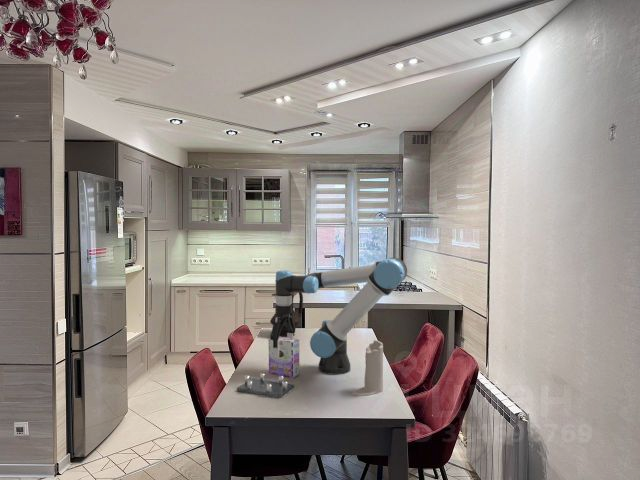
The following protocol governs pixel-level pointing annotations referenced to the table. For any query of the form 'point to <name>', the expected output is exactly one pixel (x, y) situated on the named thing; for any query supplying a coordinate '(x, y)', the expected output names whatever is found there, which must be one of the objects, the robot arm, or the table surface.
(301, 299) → the jug
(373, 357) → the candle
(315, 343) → the robot arm
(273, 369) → the candy box
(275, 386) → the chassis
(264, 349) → the table surface
